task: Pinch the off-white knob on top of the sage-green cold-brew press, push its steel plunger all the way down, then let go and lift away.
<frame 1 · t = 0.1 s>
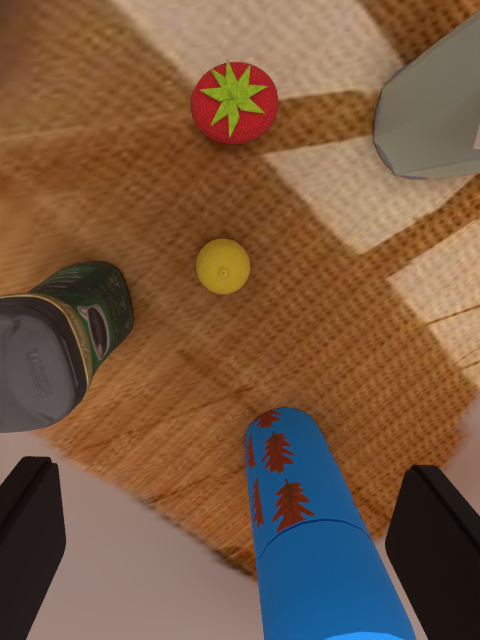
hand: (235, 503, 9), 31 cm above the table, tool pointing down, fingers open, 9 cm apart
coffee jar: (98, 302, 39), on the table
thermos: (282, 439, 47), on the table
lemon: (222, 260, 38), on the table
strawberry: (232, 121, 34), on the table
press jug: (426, 121, 35), on the table
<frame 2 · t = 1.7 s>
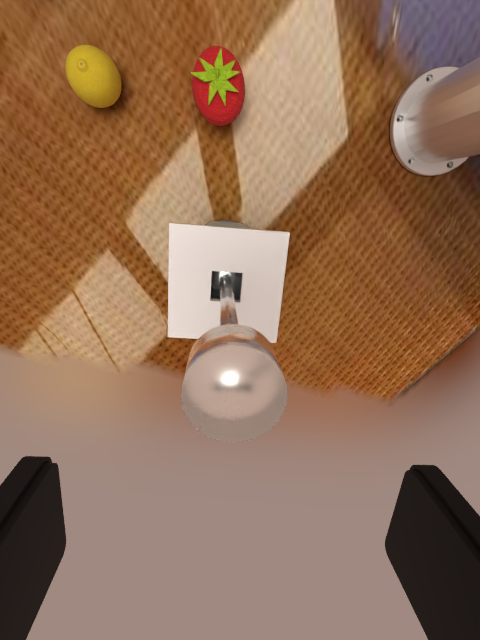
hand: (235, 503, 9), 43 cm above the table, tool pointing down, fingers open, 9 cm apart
plunger: (228, 311, 25), point 25 cm above the table, slide at 0.0 cm
lemon: (106, 90, 42), on the table
strawberry: (218, 102, 43), on the table
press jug: (224, 259, 49), on the table
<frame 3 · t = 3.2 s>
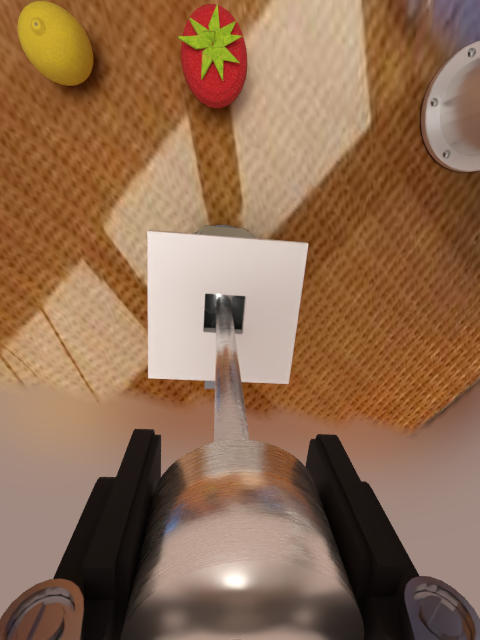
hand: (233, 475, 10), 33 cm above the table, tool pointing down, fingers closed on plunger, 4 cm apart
plunger: (226, 360, 18), point 25 cm above the table, slide at 0.0 cm, touching gripper
lemon: (77, 65, 34), on the table
strawberry: (214, 81, 35), on the table
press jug: (221, 271, 41), on the table
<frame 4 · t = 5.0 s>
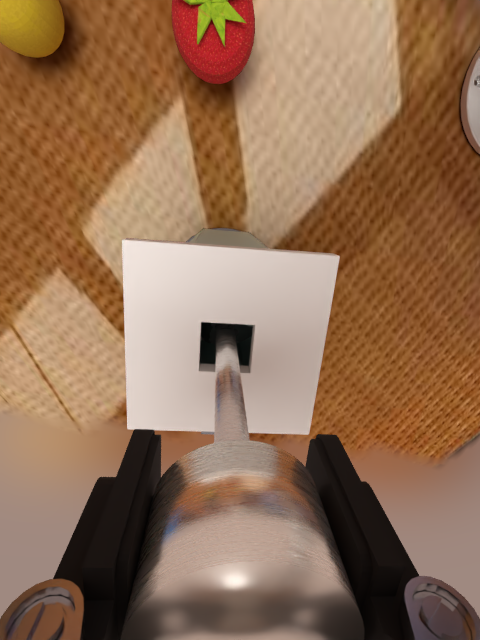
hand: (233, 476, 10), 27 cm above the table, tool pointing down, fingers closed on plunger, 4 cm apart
plunger: (227, 360, 18), point 19 cm above the table, slide at 6.4 cm, touching gripper
lemon: (46, 34, 28), on the table
strawberry: (214, 55, 29), on the table
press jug: (222, 282, 35), on the table
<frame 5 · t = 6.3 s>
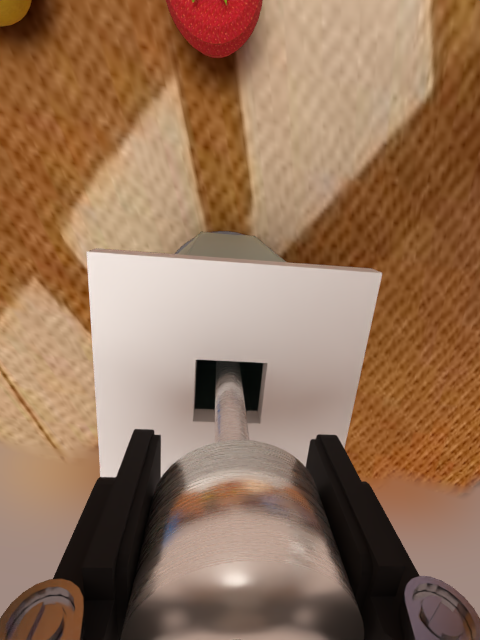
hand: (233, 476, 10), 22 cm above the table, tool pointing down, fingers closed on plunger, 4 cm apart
plunger: (227, 359, 18), point 14 cm above the table, slide at 11.2 cm, touching gripper
lemon: (14, 0, 23), on the table
strawberry: (214, 26, 25), on the table
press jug: (223, 293, 31), on the table
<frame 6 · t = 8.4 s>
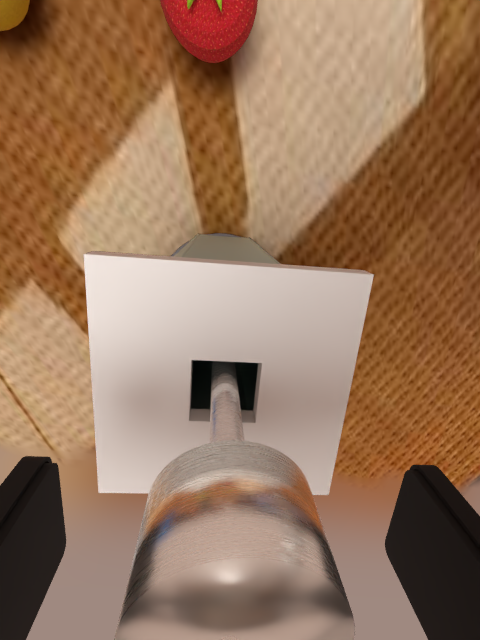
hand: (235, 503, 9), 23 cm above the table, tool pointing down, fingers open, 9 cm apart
plunger: (223, 361, 18), point 14 cm above the table, slide at 11.1 cm
lemon: (11, 6, 24), on the table
strawberry: (209, 32, 25), on the table
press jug: (220, 295, 31), on the table
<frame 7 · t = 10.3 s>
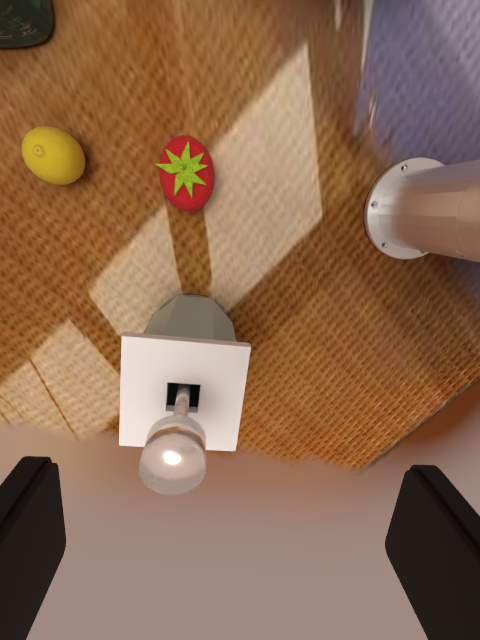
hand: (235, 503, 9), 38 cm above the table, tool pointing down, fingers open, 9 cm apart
coffee jar: (7, 6, 35), on the table
plunger: (185, 381, 34), point 14 cm above the table, slide at 11.1 cm
lemon: (70, 161, 40), on the table
strawberry: (189, 179, 41), on the table
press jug: (192, 332, 47), on the table
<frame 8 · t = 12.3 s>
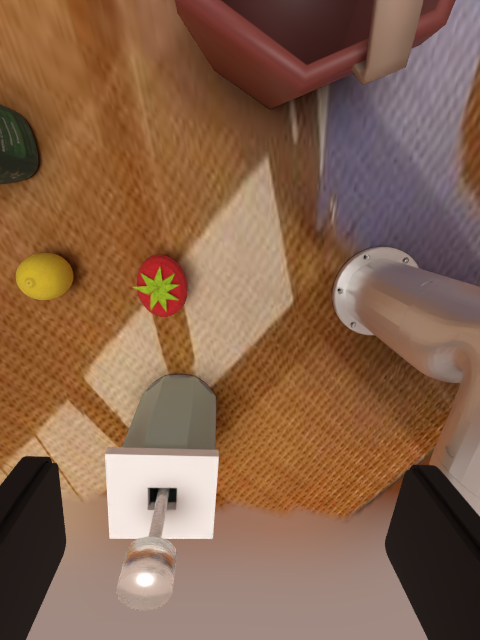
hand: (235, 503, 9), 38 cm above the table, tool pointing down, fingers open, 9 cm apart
bucket: (282, 17, 37), on the table
plunger: (166, 476, 38), point 14 cm above the table, slide at 11.1 cm
lemon: (61, 269, 44), on the table
strawberry: (168, 277, 46), on the table
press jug: (179, 406, 52), on the table
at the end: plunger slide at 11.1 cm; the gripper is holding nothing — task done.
